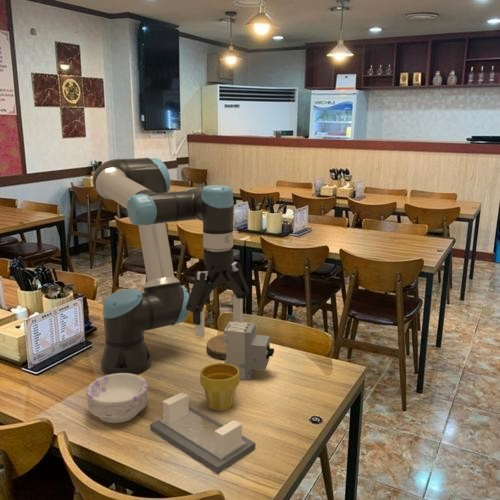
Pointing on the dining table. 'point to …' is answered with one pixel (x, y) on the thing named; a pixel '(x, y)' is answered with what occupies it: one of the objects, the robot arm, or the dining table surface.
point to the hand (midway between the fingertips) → (219, 328)
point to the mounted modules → (224, 436)
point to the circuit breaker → (246, 348)
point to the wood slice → (216, 348)
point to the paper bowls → (117, 397)
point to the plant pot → (220, 384)
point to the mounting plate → (198, 452)
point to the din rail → (198, 433)
